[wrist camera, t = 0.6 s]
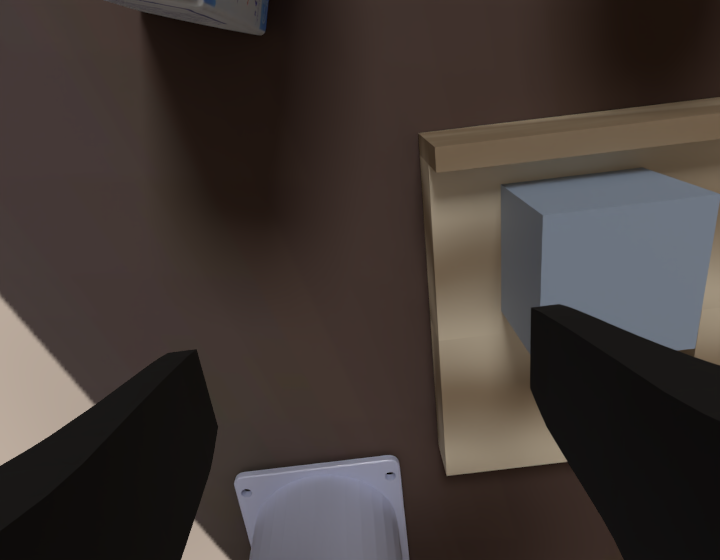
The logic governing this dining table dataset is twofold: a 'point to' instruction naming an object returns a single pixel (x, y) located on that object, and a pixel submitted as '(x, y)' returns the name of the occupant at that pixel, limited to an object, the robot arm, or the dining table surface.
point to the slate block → (609, 251)
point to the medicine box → (209, 12)
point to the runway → (483, 258)
